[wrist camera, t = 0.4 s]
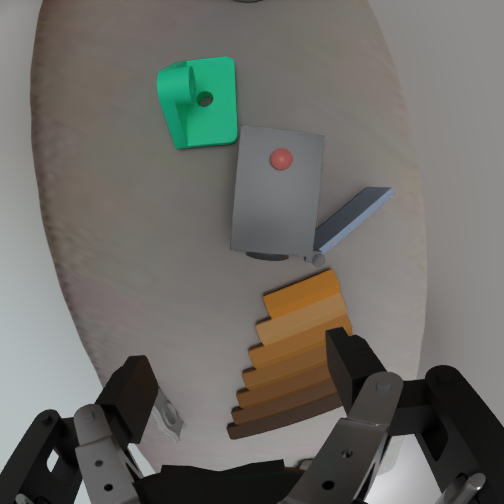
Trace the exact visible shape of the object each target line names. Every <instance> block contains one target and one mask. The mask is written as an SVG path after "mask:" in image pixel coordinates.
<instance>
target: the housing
mask: <svg viewBox="0 0 504 504" xmlns="http://www.w3.org/2000/svg"><path fill="white" fill-rule="evenodd" d="M323 150H324V135H319V134H312V133H306V132H299V131H292V130H284V129H276V128H267V127H257V126H246V125H241V133H240V143H239V153H238V163H237V174H236V185H235V196H234V207H233V219H232V231H231V243H230V250H235V251H246V255H247V256H250V257H252V258H256V259H261V260H270V261H281V260H286V259H288V256H289V255H293V256H304V261H305V262H309V263H312V264H313V265H314V266H315V267H320V266H322V265H323V264H324V262H325V258H324V256H323V255H322V251H320V250H318V249H313V245H314V237H315V229H316V221H317V212H318V203H319V194H320V184H321V173H322V162H323Z"/></svg>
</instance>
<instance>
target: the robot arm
mask: <svg viewBox="0 0 504 504" xmlns="http://www.w3.org/2000/svg"><path fill="white" fill-rule="evenodd" d="M236 1H241V2H255V1H260V0H236ZM325 340H326V355H327V365H328V369H329V373H330V375H331V378H332V380H333V382H334V385H335V387H336V390H337V392H338V395H339V397H340V399H341V402H342V404H343V407H344V409H345V412H346V414H347V417H346V418H340V419H339V420H338V422H337V423H336V425H335V427H334V428H333V430H332V432H331V433H330V435H329V437H328V438H327V440H326V441H325V443H324V444H323V446H322V448H321V449H320V451H319V452H318V454H317V455H316V457H315V458H314V460H313V461H312V463H311V464H310V465H309V467H308V468H307V470H303V469H299V468H292V467H285V465H284V460H283V459H281V460H274V461H266V462H258V463H250V464H247V465H243V466H240V467H236V468H232V469H228V470H224V471H213V470H208V469H203V468H198V467H193V466H177V465H162V468H161V472H160V473H156V474H152V475H149V476H146V477H144V476H143V474H142V472H141V471H140V469H139V467H138V465H137V463H136V462H135V459H134V458H133V456H132V454H131V452H130V450H129V449H128V447H127V446H128V444H129V443H134V444H140V441H141V438H142V435H143V433H144V430H145V427H146V424H147V422H148V419H149V416H150V414H151V411H152V408H153V406H154V403H155V400H156V398H157V395H158V383H157V380H156V378H155V375H154V373H153V371H152V368H151V366H150V363H149V361H148V359H147V357H146V356H145V355H139V356H129V357H128V358H127V360H126V362H125V363H124V365H123V366H122V367H120V368H119V369H118V370H116V371H115V372H114V373H113V374H112V376H111V378H110V379H109V381H108V382H107V384H106V387H104V389H103V390H102V392H101V394H100V395H99V397H98V399H97V400H96V402H95V403H94V404H88V405H85V406H83V407H81V408H80V409H78V410H77V411H76V413H75V414H74V417H71V418H61V417H60V415H59V414H58V412H57V411H56V410H52V409H50V410H45V411H43V412H41V413H40V414H38V415H37V417H36V418H35V419H34V421H33V422H32V424H31V426H30V427H29V429H28V430H27V431H26V433H25V434H24V436H23V438H22V439H21V441H20V442H19V444H18V446H17V447H16V449H15V450H14V452H13V454H12V455H11V457H10V459H9V460H8V462H7V464H6V465H5V467H4V469H3V471H2V472H1V474H0V504H74V501H75V498H76V495H77V493H78V490H79V487H80V485H81V482H82V479H83V480H84V483H85V486H86V489H87V492H88V495H89V498H90V501H91V504H368V503H366V502H364V500H365V499H366V497H367V495H368V493H369V491H370V488H371V487H372V484H373V482H374V480H375V477H376V474H377V472H378V470H379V467H380V465H381V463H382V461H383V458H384V456H385V454H386V451H387V449H388V446H389V444H390V441H391V439H392V436H399V435H408V434H415V437H416V439H417V441H418V443H419V445H420V447H421V449H422V451H423V453H424V455H425V457H426V460H427V462H428V464H429V466H430V468H431V470H432V473H433V475H434V477H435V479H436V481H437V484H438V486H439V488H440V491H441V493H442V495H441V497H440V498H439V499H438V500H437V502H436V503H435V504H504V427H503V426H502V424H501V423H500V422H499V420H498V419H497V418H496V416H495V415H494V414H493V413H492V411H491V410H490V409H489V407H488V406H487V405H486V404H485V403H484V401H483V400H482V399H481V397H480V396H479V395H478V394H477V393H476V391H475V390H474V389H473V388H472V386H471V385H470V384H469V383H468V382H467V381H466V379H465V378H464V377H463V376H462V375H461V373H460V372H459V371H458V370H457V369H455V368H454V367H451V366H447V365H439V366H435V367H433V368H431V369H430V370H428V372H427V373H426V376H425V379H420V380H412V381H403V380H402V378H401V377H400V376H399V375H397V374H395V373H393V372H387V371H386V369H385V368H384V366H383V365H382V363H381V362H380V360H379V359H378V358H377V356H376V355H375V353H373V350H372V349H371V348H370V347H369V345H368V343H367V342H366V341H365V339H363V338H361V337H359V336H358V335H352V336H348V334H347V332H346V331H345V329H344V328H343V327H337V328H333V329H329V330H326V331H325ZM52 450H54V451H55V452H56V453H57V454H58V456H59V458H58V460H57V462H56V464H55V466H54V468H53V470H52V472H50V471H49V470H48V467H47V459H48V458H49V456H50V454H51V452H52Z"/></svg>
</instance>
